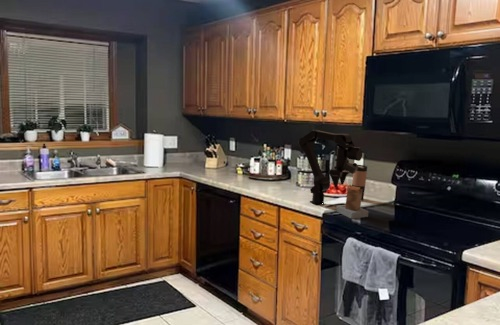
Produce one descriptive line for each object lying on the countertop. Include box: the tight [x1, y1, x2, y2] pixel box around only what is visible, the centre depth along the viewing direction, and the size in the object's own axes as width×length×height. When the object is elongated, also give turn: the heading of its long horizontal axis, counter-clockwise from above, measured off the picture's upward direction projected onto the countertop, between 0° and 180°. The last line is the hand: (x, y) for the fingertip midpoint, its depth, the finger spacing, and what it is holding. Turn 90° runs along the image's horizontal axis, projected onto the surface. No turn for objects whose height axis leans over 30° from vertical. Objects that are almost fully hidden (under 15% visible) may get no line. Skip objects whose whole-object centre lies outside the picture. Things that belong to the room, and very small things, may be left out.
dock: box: [336, 204, 369, 219], centre depth 233 cm, size 12×11×3 cm
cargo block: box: [349, 185, 360, 191], centre depth 231 cm, size 4×4×3 cm
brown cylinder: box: [345, 187, 362, 211], centre depth 231 cm, size 6×6×10 cm
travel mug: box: [351, 164, 368, 201], centre depth 262 cm, size 8×8×20 cm
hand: (339, 185), depth 237 cm, fingers open, 9 cm apart
